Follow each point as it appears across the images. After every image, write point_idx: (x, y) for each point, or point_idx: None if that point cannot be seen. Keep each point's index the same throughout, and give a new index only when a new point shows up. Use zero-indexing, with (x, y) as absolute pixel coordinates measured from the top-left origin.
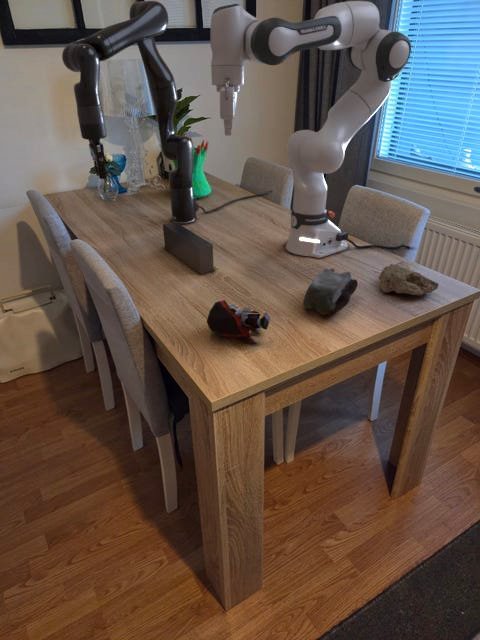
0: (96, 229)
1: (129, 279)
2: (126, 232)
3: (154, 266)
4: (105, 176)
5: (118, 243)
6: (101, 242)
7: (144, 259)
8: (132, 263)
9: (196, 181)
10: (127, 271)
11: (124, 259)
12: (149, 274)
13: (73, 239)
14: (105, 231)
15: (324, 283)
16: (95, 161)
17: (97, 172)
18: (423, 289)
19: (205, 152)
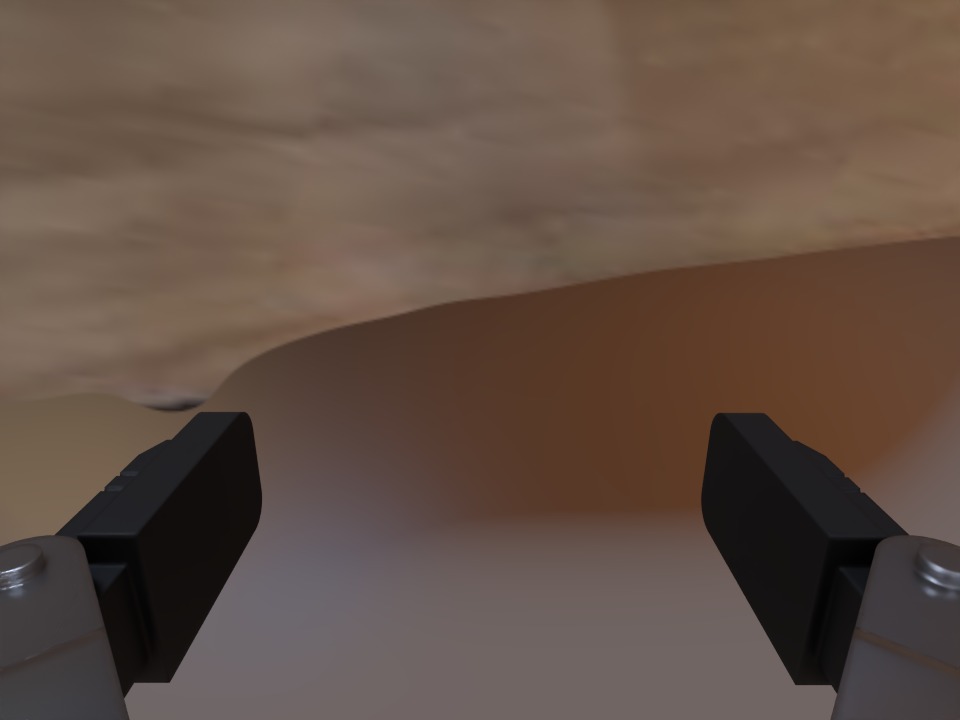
0: (61, 279)
1: (915, 222)
2: (164, 88)
3: (832, 34)
4: (807, 447)
5: (361, 183)
6: (309, 282)
7: (694, 72)
8: (716, 161)
9: None
10: (809, 212)
11: (634, 195)
12: (923, 95)
13: None
14: (112, 228)
15: None
16: (168, 648)
17: (261, 493)
18: None
19: None
